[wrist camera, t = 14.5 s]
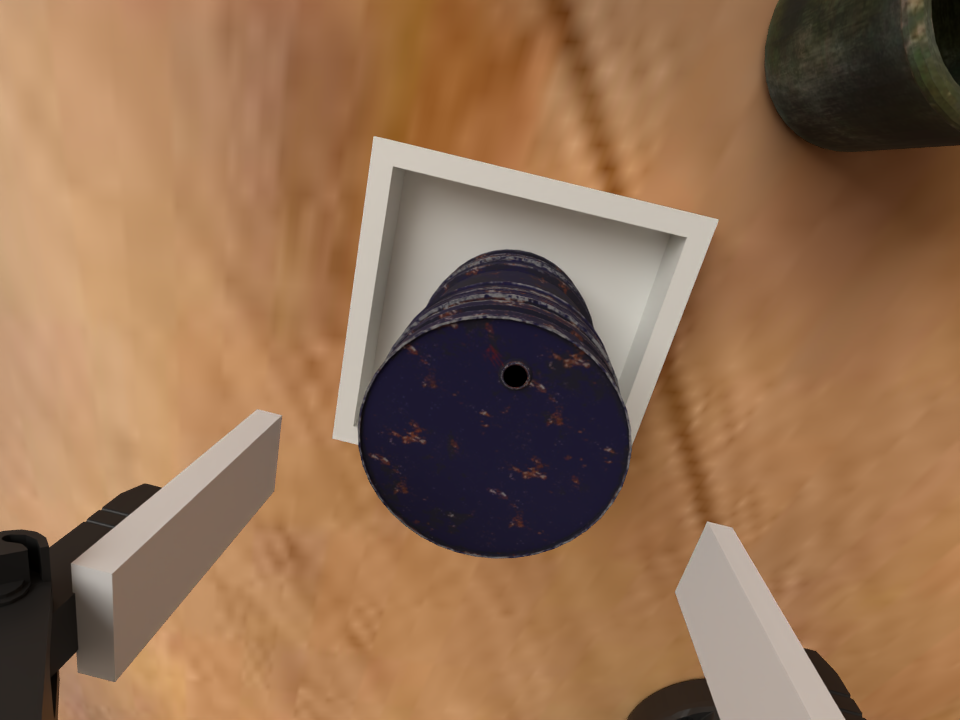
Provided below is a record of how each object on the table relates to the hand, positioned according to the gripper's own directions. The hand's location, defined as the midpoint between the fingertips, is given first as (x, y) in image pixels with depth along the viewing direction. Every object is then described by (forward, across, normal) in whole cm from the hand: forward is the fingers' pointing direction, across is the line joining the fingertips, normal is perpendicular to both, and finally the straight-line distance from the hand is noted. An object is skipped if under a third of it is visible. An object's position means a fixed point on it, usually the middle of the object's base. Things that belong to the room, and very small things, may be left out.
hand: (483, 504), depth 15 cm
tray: (+19, 0, -1) cm, 19 cm away
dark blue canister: (+18, 0, -1) cm, 18 cm away
